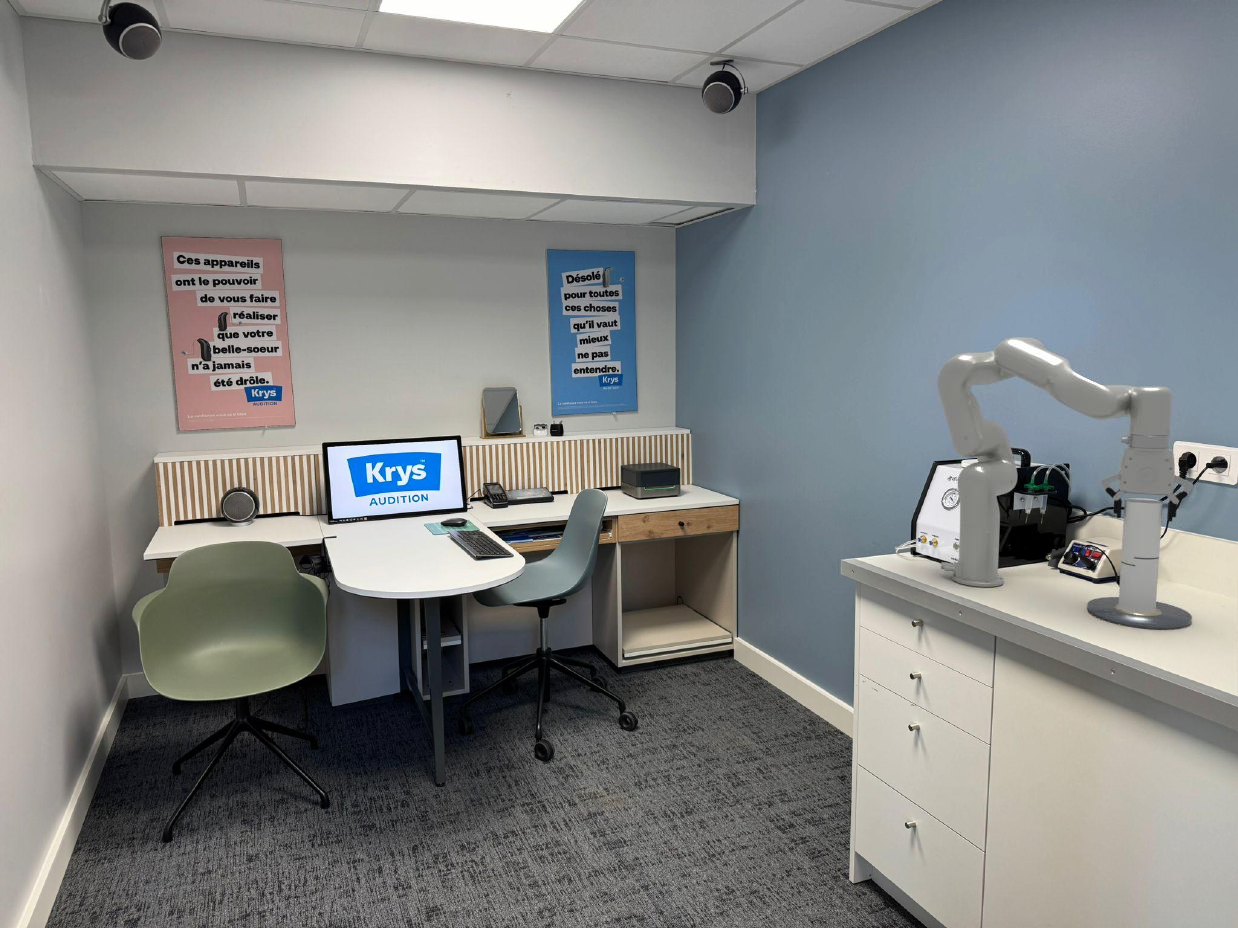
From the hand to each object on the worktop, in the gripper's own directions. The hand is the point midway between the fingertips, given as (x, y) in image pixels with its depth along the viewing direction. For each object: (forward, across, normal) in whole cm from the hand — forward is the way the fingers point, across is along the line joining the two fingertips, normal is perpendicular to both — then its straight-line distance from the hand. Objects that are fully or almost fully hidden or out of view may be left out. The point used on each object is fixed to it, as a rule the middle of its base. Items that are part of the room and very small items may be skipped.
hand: (1143, 518), depth 182 cm
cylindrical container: (+21, 0, 0) cm, 21 cm away
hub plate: (+22, 0, 0) cm, 22 cm away
